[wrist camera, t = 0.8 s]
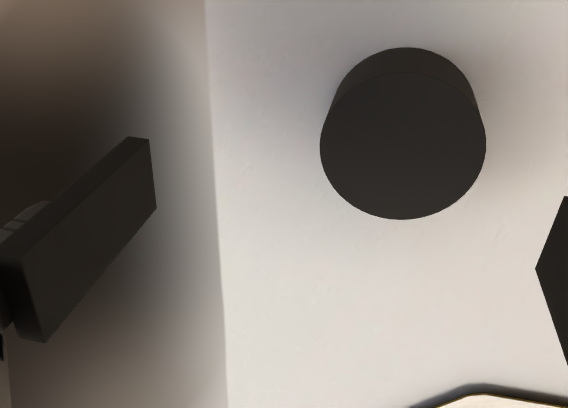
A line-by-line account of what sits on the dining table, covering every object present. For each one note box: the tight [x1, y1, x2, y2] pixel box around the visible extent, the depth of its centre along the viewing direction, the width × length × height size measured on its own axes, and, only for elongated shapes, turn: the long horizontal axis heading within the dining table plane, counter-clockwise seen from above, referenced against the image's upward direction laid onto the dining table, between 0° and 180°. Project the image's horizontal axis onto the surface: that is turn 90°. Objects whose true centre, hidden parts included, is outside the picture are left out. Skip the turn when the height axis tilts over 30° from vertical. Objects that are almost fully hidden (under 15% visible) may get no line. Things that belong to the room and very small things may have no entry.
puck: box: [320, 48, 486, 220], centre depth 30 cm, size 9×9×5 cm
